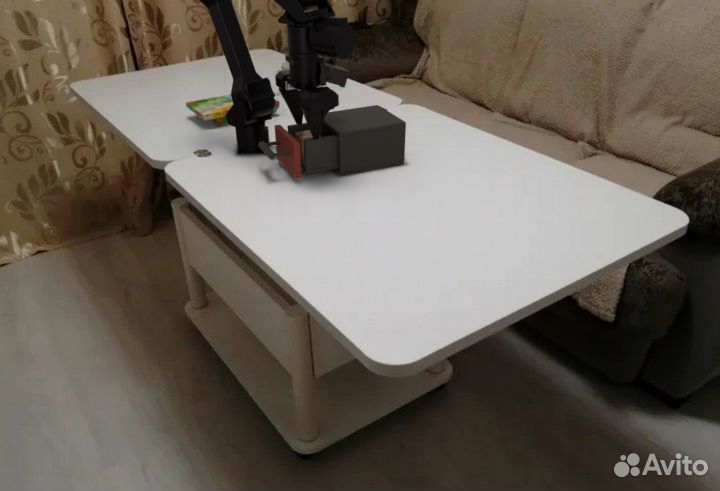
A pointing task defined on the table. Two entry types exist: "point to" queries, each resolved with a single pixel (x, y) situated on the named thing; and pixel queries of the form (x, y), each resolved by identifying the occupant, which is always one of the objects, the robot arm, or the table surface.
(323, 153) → the red-fronted drawer
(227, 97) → the puzzle game
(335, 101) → the robot arm
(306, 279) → the table surface
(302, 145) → the oak block
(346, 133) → the drawer cabinet casing
